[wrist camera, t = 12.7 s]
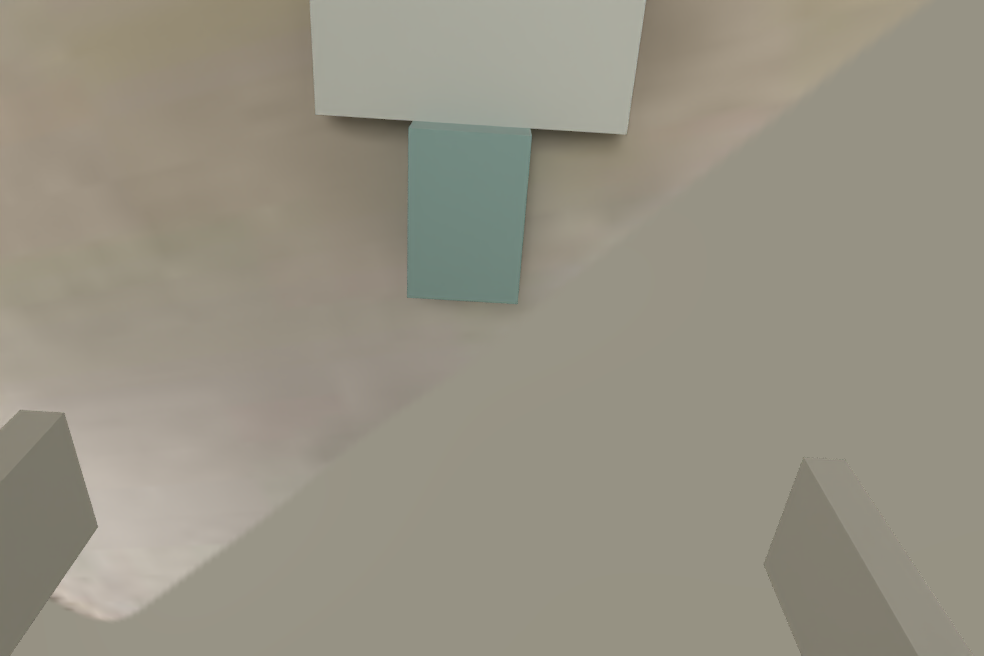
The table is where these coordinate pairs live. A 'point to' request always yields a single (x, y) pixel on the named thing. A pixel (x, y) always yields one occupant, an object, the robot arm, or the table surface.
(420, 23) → the lid
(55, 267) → the table surface
